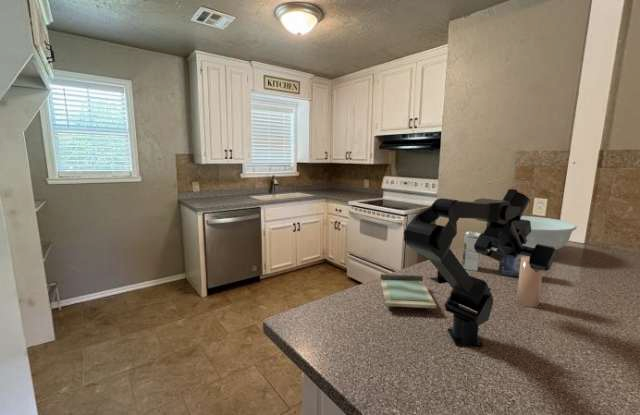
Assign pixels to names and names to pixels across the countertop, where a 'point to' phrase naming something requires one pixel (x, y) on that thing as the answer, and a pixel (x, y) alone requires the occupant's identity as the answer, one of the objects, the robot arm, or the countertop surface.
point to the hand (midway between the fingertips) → (519, 266)
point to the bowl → (548, 232)
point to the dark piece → (439, 278)
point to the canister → (528, 284)
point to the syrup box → (470, 252)
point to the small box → (510, 266)
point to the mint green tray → (406, 292)
